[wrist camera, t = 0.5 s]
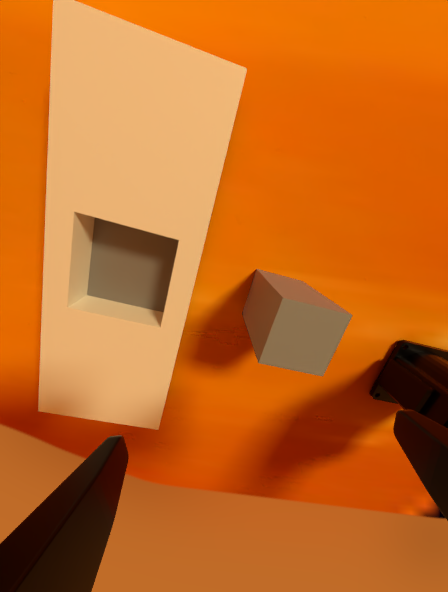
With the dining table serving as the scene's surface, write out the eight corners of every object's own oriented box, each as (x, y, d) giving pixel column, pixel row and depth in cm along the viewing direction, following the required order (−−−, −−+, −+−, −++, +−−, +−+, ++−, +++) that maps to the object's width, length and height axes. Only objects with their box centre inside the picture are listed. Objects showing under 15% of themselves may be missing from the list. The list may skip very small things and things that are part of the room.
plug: (302, 281, 19) (352, 315, 12) (285, 324, 20) (322, 376, 13) (256, 268, 18) (282, 297, 12) (242, 313, 19) (258, 362, 13)
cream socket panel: (238, 102, 15) (247, 68, 11) (166, 397, 22) (158, 429, 18) (92, 48, 13) (53, -8, 10) (65, 380, 20) (38, 411, 17)
